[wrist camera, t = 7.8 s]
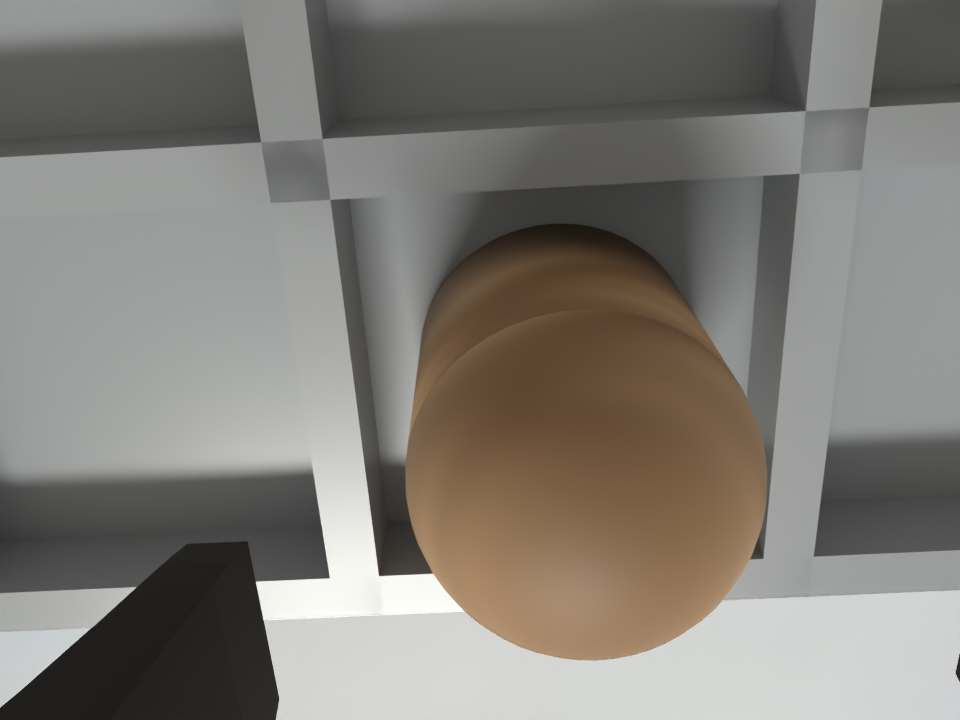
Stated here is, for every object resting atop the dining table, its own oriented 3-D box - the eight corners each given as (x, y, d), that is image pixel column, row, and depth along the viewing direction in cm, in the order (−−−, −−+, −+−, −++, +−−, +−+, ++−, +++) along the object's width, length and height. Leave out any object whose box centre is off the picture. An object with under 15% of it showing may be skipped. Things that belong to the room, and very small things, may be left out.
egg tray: (1500, -591, 10) (1731, -717, 8) (1156, 507, 16) (1243, 577, 14) (-377, -449, 10) (-557, -537, 9) (-16, 561, 17) (-78, 635, 15)
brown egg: (700, 217, 13) (852, 386, 8) (684, 466, 15) (799, 738, 10) (410, 229, 13) (370, 405, 8) (429, 476, 15) (407, 752, 10)
